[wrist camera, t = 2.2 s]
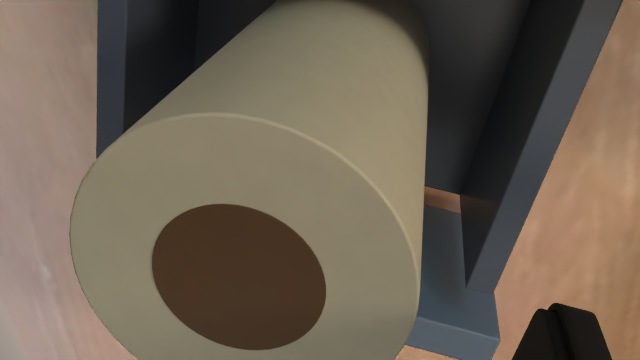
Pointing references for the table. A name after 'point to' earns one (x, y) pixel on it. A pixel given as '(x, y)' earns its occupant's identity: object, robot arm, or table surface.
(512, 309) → the table surface
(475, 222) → the drawer
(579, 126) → the table surface
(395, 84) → the paper roll
